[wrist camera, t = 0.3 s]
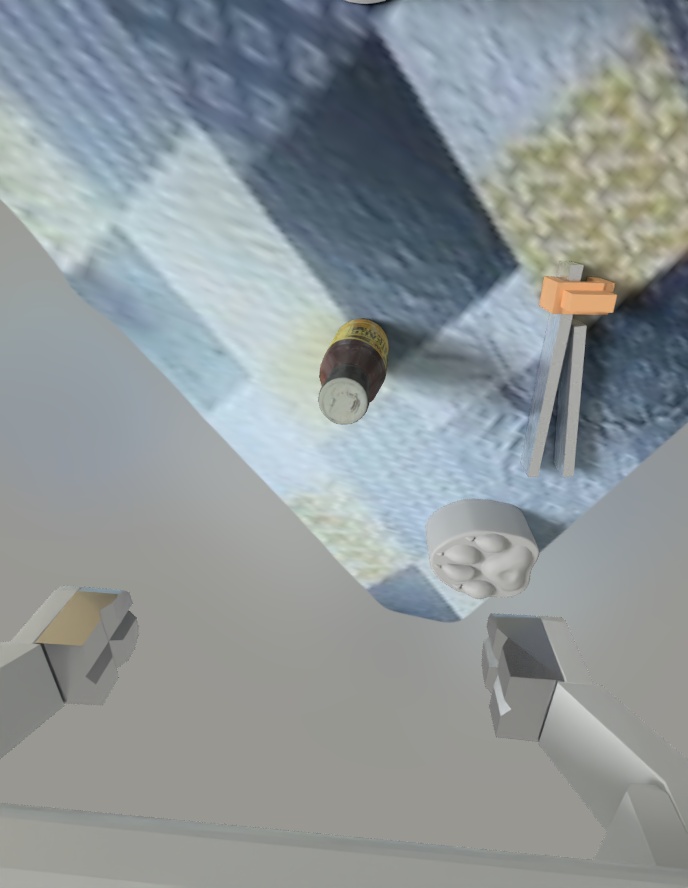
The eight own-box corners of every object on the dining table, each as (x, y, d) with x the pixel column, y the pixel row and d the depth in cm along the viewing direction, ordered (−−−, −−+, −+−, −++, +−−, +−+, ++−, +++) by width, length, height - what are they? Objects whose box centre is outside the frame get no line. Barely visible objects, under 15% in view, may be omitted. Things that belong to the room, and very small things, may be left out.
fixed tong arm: (559, 261, 50) (571, 264, 46) (571, 261, 50) (583, 265, 46) (520, 462, 60) (527, 476, 57) (529, 462, 60) (537, 477, 57)
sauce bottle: (399, 345, 55) (405, 411, 37) (359, 379, 57) (346, 457, 39) (362, 301, 53) (349, 349, 35) (321, 338, 55) (291, 400, 38)
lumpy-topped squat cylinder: (510, 564, 68) (526, 610, 60) (419, 553, 68) (423, 598, 61) (529, 504, 63) (549, 546, 55) (432, 493, 64) (438, 532, 56)
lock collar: (544, 276, 50) (566, 286, 44) (597, 277, 50) (627, 287, 44) (539, 305, 51) (559, 319, 45) (590, 306, 51) (618, 320, 45)
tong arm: (563, 319, 52) (574, 326, 49) (574, 318, 52) (586, 325, 49) (553, 462, 60) (563, 477, 57) (563, 462, 60) (573, 476, 57)
